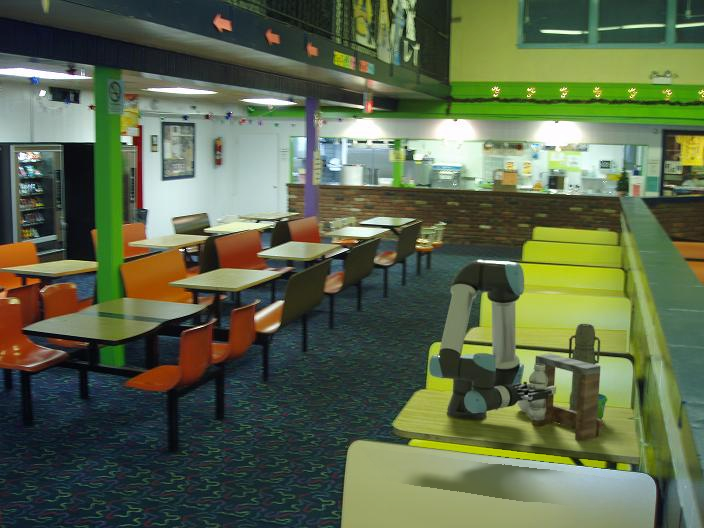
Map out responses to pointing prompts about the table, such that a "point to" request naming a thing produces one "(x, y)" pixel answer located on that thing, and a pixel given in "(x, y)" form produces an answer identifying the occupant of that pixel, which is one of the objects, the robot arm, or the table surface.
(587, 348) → the thermos
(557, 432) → the table surface
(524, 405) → the lidded bowl
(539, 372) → the plastic bottle
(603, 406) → the snack cup
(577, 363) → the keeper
